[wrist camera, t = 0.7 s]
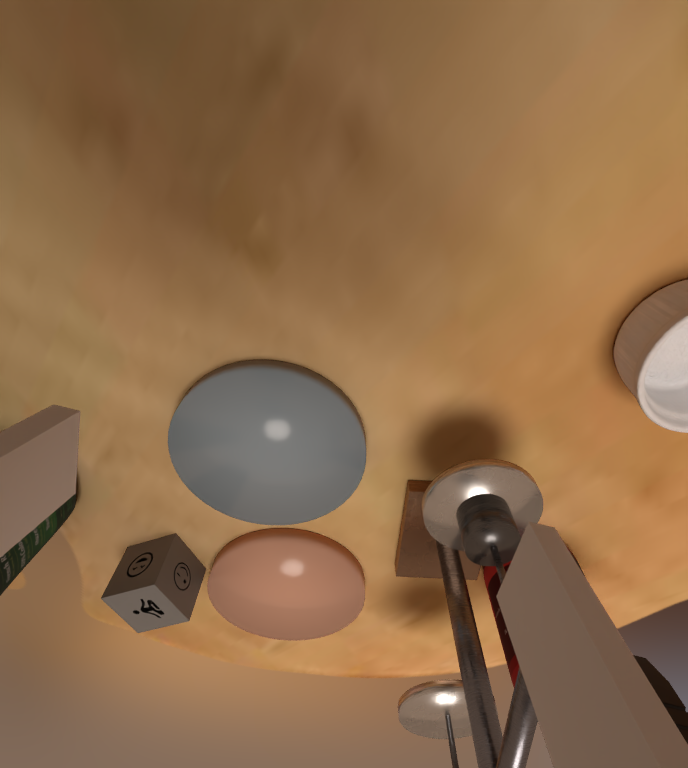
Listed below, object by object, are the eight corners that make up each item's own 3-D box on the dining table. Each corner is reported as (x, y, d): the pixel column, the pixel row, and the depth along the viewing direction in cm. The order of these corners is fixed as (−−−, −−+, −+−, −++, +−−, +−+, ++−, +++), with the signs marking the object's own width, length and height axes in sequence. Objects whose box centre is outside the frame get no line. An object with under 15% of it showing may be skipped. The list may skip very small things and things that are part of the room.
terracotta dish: (203, 524, 38) (198, 538, 37) (370, 532, 38) (370, 546, 37) (219, 622, 46) (215, 637, 44) (359, 628, 46) (359, 643, 44)
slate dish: (160, 354, 30) (151, 365, 29) (372, 364, 30) (373, 376, 29) (188, 506, 37) (182, 521, 36) (359, 514, 37) (359, 529, 36)
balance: (418, 402, 32) (495, 750, 14) (522, 407, 32) (721, 760, 14) (386, 612, 44) (406, 932, 27) (460, 616, 44) (527, 937, 27)
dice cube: (206, 568, 41) (189, 620, 37) (159, 580, 42) (138, 632, 38) (176, 532, 39) (154, 584, 35) (128, 546, 40) (100, 598, 36)
